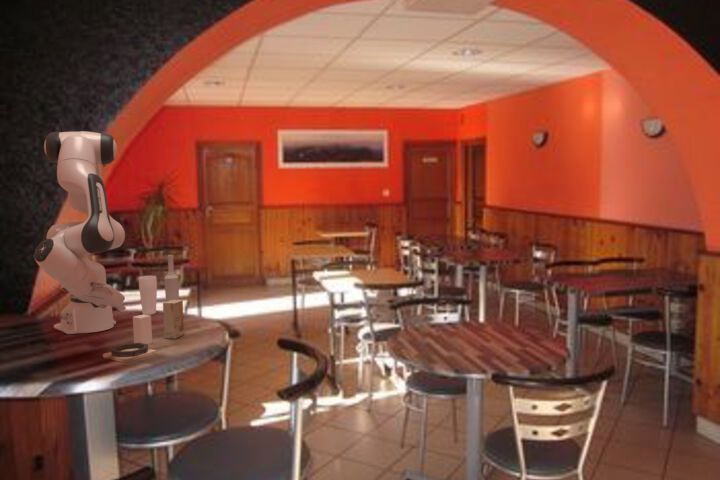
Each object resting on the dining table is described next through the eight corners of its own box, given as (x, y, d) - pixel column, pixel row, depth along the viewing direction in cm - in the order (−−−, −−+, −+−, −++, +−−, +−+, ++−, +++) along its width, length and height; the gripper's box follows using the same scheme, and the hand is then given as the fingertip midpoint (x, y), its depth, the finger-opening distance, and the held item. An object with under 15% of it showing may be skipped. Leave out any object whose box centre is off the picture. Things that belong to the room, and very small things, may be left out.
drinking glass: (137, 315, 237) (135, 278, 235) (145, 311, 244) (144, 275, 242) (152, 315, 236) (151, 278, 234) (161, 312, 242) (159, 275, 241)
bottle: (163, 320, 228) (160, 255, 225) (176, 317, 232) (173, 254, 229) (170, 322, 224) (167, 256, 222) (183, 319, 228) (180, 255, 226)
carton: (134, 343, 195) (132, 316, 194) (144, 341, 199) (143, 314, 198) (141, 345, 193) (140, 318, 192) (152, 342, 196) (151, 315, 195)
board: (103, 357, 180) (102, 349, 180) (134, 348, 190) (134, 340, 189) (125, 362, 174) (125, 354, 174) (157, 353, 184) (156, 345, 183)
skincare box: (175, 339, 200) (173, 303, 199) (163, 338, 201) (161, 303, 200) (184, 334, 207) (183, 299, 205) (173, 333, 207) (171, 299, 206)
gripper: (110, 276, 173) (140, 303, 182) (70, 271, 184) (100, 297, 193) (96, 294, 170) (128, 320, 179) (57, 287, 181) (88, 313, 190)
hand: (113, 308), depth 186 cm, fingers open, 8 cm apart
